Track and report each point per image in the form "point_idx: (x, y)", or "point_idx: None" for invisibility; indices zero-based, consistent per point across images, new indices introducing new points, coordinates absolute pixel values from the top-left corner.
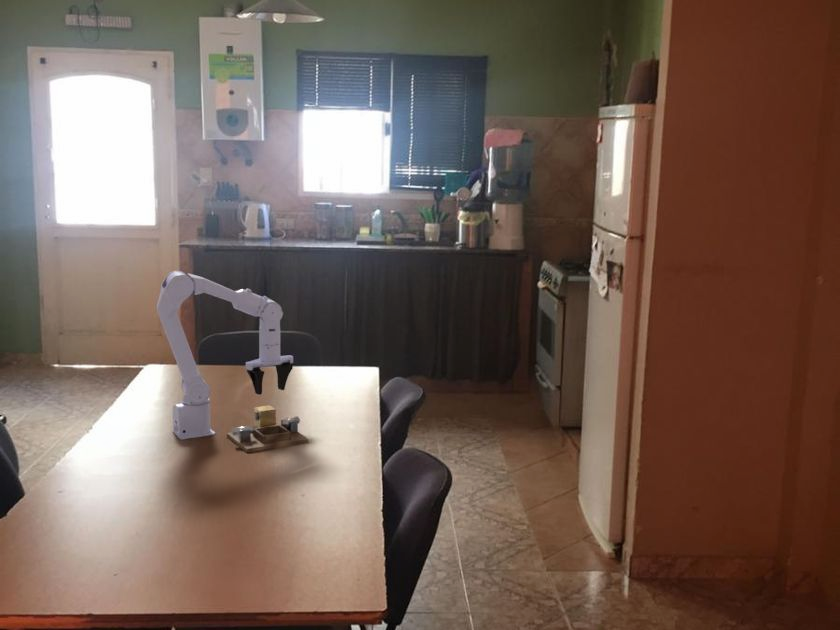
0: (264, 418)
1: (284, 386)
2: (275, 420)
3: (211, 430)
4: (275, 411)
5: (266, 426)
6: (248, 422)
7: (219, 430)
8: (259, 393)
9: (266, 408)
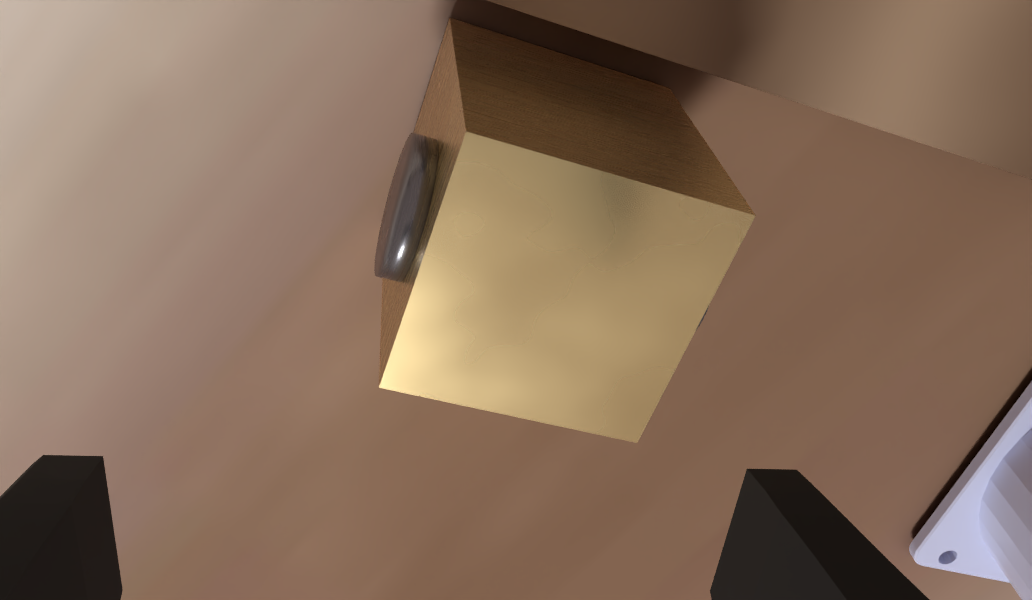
0: (651, 134)
1: (13, 508)
2: (459, 59)
3: (1027, 422)
4: (465, 117)
5: (595, 77)
6: (508, 440)
7: (908, 415)
8: (813, 491)
9: (547, 281)
